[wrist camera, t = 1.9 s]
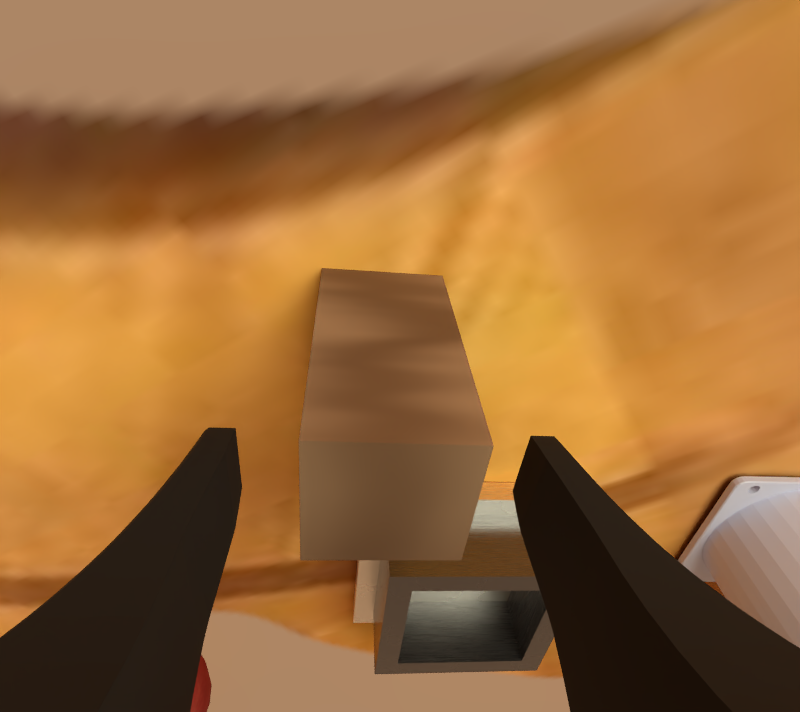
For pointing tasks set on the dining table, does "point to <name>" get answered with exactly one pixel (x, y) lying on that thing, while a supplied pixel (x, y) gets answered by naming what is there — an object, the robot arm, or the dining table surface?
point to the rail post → (388, 423)
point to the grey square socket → (459, 601)
